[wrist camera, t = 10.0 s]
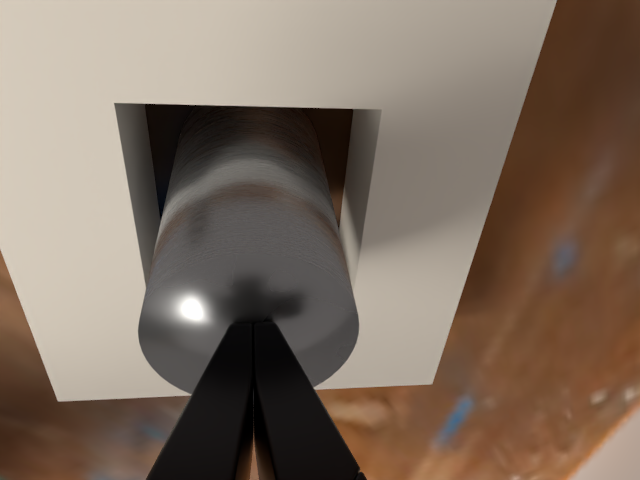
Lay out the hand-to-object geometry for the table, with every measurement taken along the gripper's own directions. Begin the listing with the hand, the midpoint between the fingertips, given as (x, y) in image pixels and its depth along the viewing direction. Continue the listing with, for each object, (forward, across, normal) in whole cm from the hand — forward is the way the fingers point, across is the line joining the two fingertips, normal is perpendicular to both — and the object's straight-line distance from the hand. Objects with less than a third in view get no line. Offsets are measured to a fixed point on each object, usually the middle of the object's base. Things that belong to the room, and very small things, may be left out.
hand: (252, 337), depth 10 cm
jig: (+7, 0, 0) cm, 7 cm away
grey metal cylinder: (+7, 0, 0) cm, 7 cm away
